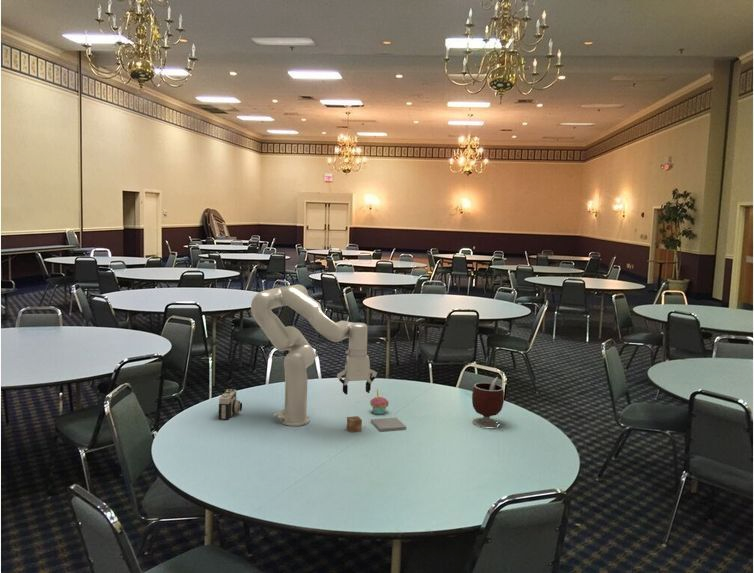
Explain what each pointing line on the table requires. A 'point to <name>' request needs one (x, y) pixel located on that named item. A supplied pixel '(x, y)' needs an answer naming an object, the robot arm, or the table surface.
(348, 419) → the walnut cube
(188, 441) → the table surface
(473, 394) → the mate gourd
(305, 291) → the robot arm
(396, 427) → the slate coaster
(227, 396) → the camera
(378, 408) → the cupcake
